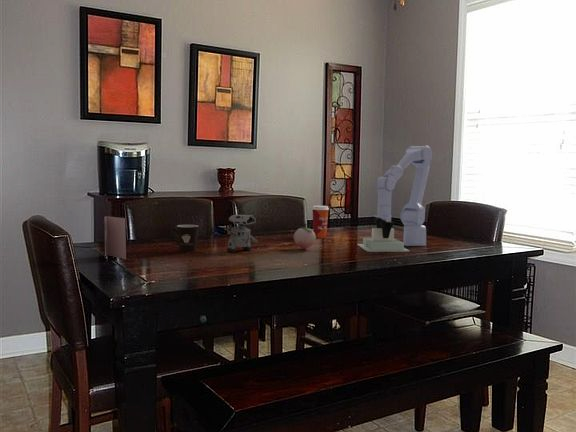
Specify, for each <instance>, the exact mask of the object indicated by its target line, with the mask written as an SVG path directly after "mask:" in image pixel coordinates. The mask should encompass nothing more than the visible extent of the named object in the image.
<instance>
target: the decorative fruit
mask: <svg viewBox="0 0 576 432" xmlns="http://www.w3.org/2000/svg"><path fill="white" fill-rule="evenodd" d="M316 239H317V238H316V235H315V233H314V232H313V229H311V228H308V227H299V228H297V229H296V230H295V232H294V233H293V240H294V243H296V245H297V246H298V247H299V248H301V250H307V249H309V248H311V247H312V246H313V245H314V244H315V241H316Z"/></svg>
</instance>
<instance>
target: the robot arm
mask: <svg viewBox="0 0 576 432" xmlns="http://www.w3.org/2000/svg"><path fill="white" fill-rule="evenodd" d="M433 155H434V153H433V151H432V148H431V147H430V146H429V145H423V146H422V145H421V146H420V145H416V146H414V145H410V146H408V147H407V149H406V150H405V154H404V155H403V157H402V158H401V159H400V161H399V162H398V163H397V164H394V165H390V168H389V169H388V170H387V171H386V172H385V173H384V174H383V176H378V178H377V179H376V181H375V183H374V185H375V188H376V193H377V209H376V210H377V214H375V215H374V218H375V219H374V223H375V226H376V228H382V234H383V238H389V234H390V231H391V228H393V226H394V223H395V222H394V221H392V194H393V190H394V189H395V187H396V184H397V182H398V180H399V179H400V178H401V177H402V176H403V175H404V170H405V169H407V167H408V166H409V165H411V164H412V166H415V168H416V171H415V175H414V179H413V183H412V189H411V193H410V197H409V201H408V202H407V203H406V204H405V205H403V209H402V211H401V212H400V216H399V217H400V221H401V223H402V225H403V241H402V242H404V247H405V246H406V247H410V246H411V247H412V246H417V247H421V246H422V247H423V246H427V244H426V243H427V228H426V226H425V225H423V224H424V223H425V219H426V208H425V207H424V206H423V204H422V203H423V199H424V195H425V189H426V184H427V181H428V177H429V172H430V167H431V163H432V159H433Z"/></svg>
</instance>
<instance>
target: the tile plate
mask: <svg viewBox="0 0 576 432" xmlns="http://www.w3.org/2000/svg"><path fill="white" fill-rule="evenodd" d="M371 238H372V241H394V238H395V228H393V227H392V228H391V231H390V234H389V238H383V234H382V228H377V227H372V228H371Z"/></svg>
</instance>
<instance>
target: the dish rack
mask: <svg viewBox="0 0 576 432" xmlns="http://www.w3.org/2000/svg"><path fill="white" fill-rule="evenodd" d="M357 246H358V247H360V248H361V249H363V250H364V251H366V252H367V253H369V252H370V253H373V252H374V253H379V252H380V253H381V252H383V253H384V252H386V253H387V252H388V253H389V252H390V253H391V252H393V253H400V252H401V253H403V252H404V253H407V252H408V253H410V250H409V249H407V248H406V247H405V245H404V242H403V241H401V240H399V239H397V238H395V237H394V241H372V237H363V238H362V243H357Z"/></svg>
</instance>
